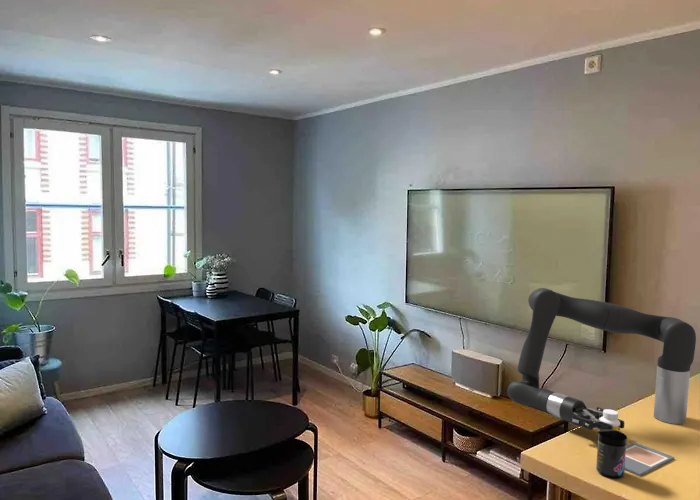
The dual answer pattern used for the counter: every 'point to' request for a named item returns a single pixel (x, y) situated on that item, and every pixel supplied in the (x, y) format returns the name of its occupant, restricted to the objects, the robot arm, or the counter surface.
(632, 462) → the picture board
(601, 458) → the supplement container
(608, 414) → the supplement bottle
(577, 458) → the counter surface
